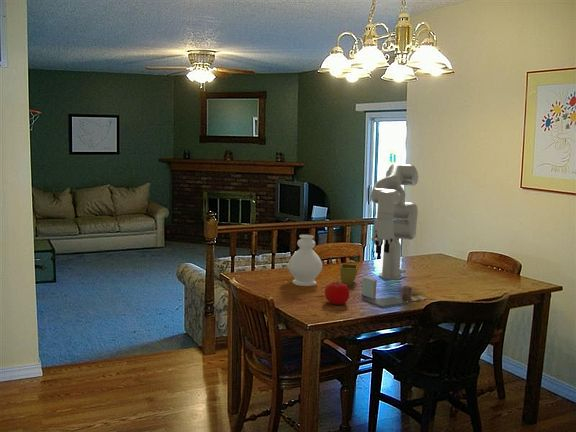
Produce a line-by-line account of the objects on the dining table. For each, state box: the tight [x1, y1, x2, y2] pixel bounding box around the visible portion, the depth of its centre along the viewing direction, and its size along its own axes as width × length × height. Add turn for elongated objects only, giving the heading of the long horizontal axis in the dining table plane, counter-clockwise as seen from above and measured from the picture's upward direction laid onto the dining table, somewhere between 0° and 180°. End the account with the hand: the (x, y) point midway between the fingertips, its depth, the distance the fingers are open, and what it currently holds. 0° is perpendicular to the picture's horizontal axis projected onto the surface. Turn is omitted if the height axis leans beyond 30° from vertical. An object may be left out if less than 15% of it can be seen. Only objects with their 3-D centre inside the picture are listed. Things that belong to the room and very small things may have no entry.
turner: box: [401, 285, 427, 302], centre depth 303 cm, size 12×5×7 cm, turn 123°
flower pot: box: [339, 263, 359, 285], centre depth 329 cm, size 9×9×9 cm
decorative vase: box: [287, 234, 323, 287], centre depth 324 cm, size 18×18×25 cm
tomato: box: [324, 281, 350, 306], centre depth 291 cm, size 12×12×10 cm
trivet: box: [367, 295, 409, 309], centre depth 295 cm, size 16×10×1 cm, turn 123°
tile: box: [361, 276, 378, 300], centre depth 305 cm, size 2×8×9 cm, turn 33°
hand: (382, 252), depth 306 cm, fingers open, 4 cm apart
